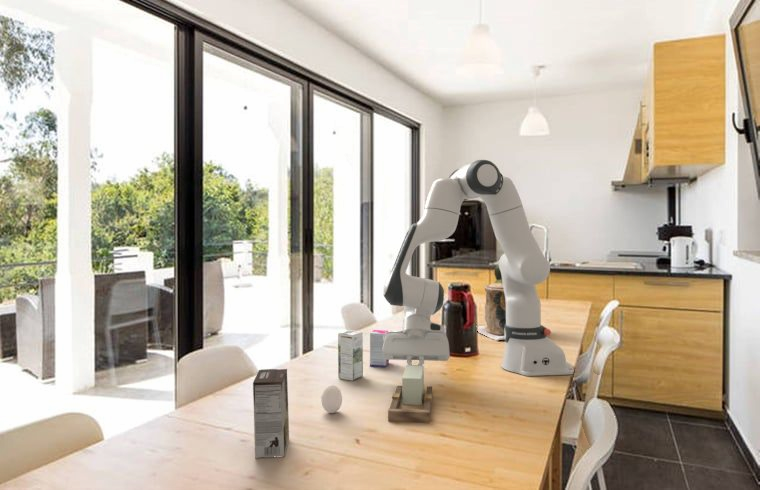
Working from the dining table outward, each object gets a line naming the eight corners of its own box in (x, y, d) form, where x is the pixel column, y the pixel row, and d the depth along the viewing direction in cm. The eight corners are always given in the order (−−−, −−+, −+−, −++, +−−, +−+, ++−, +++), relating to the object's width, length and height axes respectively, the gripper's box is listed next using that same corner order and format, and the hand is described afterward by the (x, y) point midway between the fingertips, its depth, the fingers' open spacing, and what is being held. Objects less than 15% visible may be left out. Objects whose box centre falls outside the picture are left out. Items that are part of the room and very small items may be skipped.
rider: (424, 389, 141) (423, 365, 140) (421, 404, 129) (421, 378, 129) (406, 389, 141) (406, 365, 141) (402, 404, 130) (402, 378, 129)
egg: (319, 410, 126) (318, 382, 126) (339, 407, 128) (338, 380, 128) (324, 418, 121) (323, 388, 121) (344, 414, 123) (344, 386, 123)
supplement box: (386, 367, 164) (386, 333, 163) (369, 366, 165) (368, 333, 164) (389, 362, 169) (389, 329, 169) (373, 361, 171) (372, 329, 170)
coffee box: (260, 440, 109) (258, 369, 109) (289, 438, 110) (288, 367, 109) (253, 459, 100) (251, 382, 99) (285, 457, 101) (283, 380, 100)
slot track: (432, 393, 137) (432, 384, 137) (429, 422, 117) (429, 412, 117) (396, 392, 139) (396, 383, 139) (387, 421, 118) (387, 410, 118)
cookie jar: (468, 330, 219) (467, 259, 218) (516, 326, 227) (515, 257, 225) (497, 342, 196) (497, 263, 195) (549, 337, 203) (549, 261, 202)
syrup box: (348, 373, 157) (347, 329, 157) (363, 376, 154) (362, 331, 154) (338, 378, 152) (337, 332, 152) (353, 381, 149) (352, 334, 149)
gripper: (382, 325, 150) (378, 365, 141) (449, 326, 147) (449, 367, 138) (384, 336, 155) (380, 376, 145) (449, 337, 152) (449, 378, 142)
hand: (414, 371), depth 142 cm, fingers closed, pressing on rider
